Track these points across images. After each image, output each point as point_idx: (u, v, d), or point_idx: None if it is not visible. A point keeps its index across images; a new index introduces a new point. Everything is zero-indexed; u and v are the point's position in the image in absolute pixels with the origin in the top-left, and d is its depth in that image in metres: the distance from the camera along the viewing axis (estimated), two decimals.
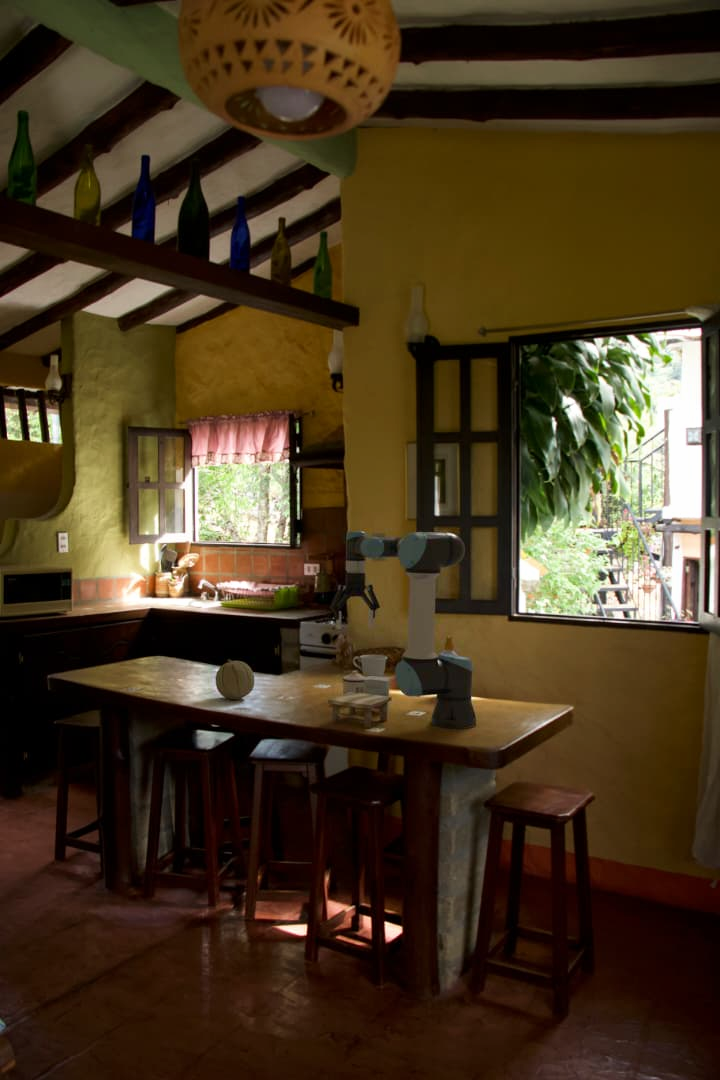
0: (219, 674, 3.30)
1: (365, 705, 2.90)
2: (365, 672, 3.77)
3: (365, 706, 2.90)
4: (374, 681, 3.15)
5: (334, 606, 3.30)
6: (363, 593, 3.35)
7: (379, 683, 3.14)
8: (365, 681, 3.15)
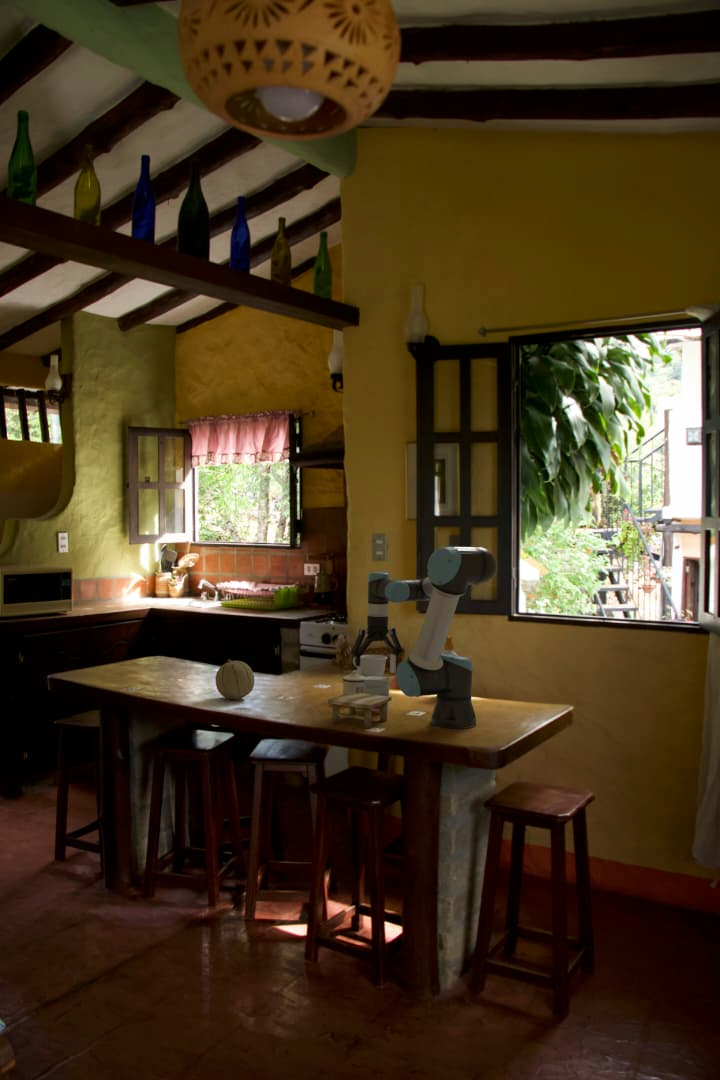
0: (219, 674, 3.30)
1: (365, 705, 2.90)
2: (365, 672, 3.77)
3: (365, 706, 2.90)
4: (374, 681, 3.15)
5: (355, 652, 3.13)
6: (386, 637, 3.18)
7: (379, 683, 3.14)
8: (365, 681, 3.15)
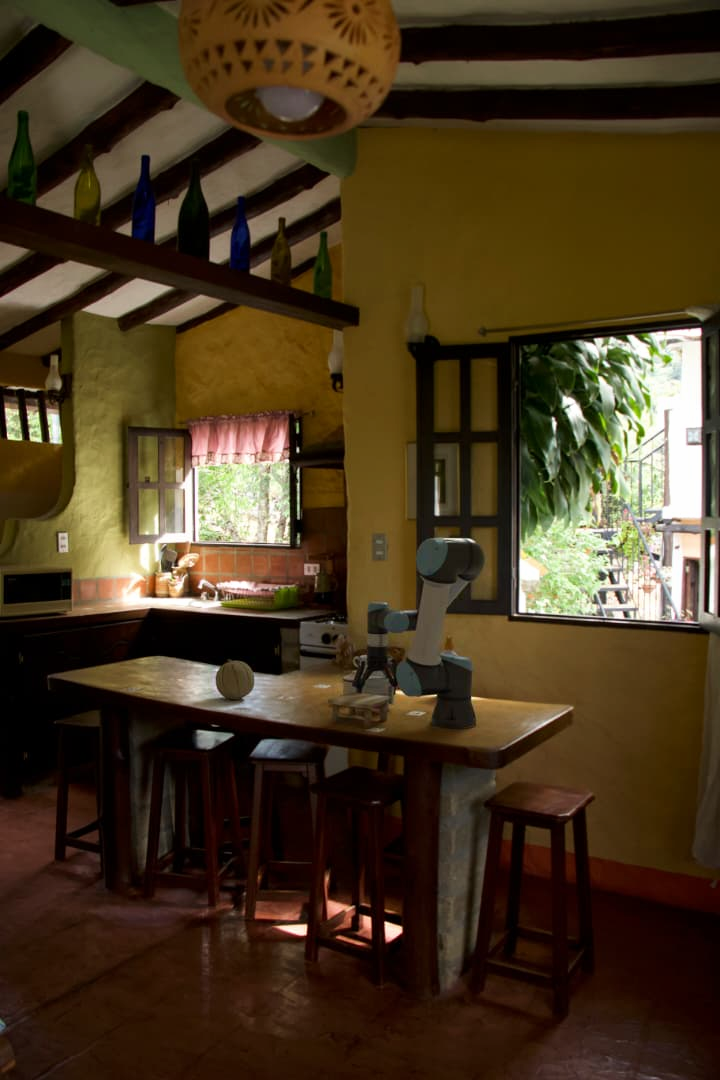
0: (219, 674, 3.30)
1: (365, 705, 2.90)
2: None
3: (365, 706, 2.90)
4: (374, 681, 3.15)
5: (357, 684, 3.14)
6: (385, 668, 3.18)
7: (379, 683, 3.14)
8: (365, 681, 3.15)
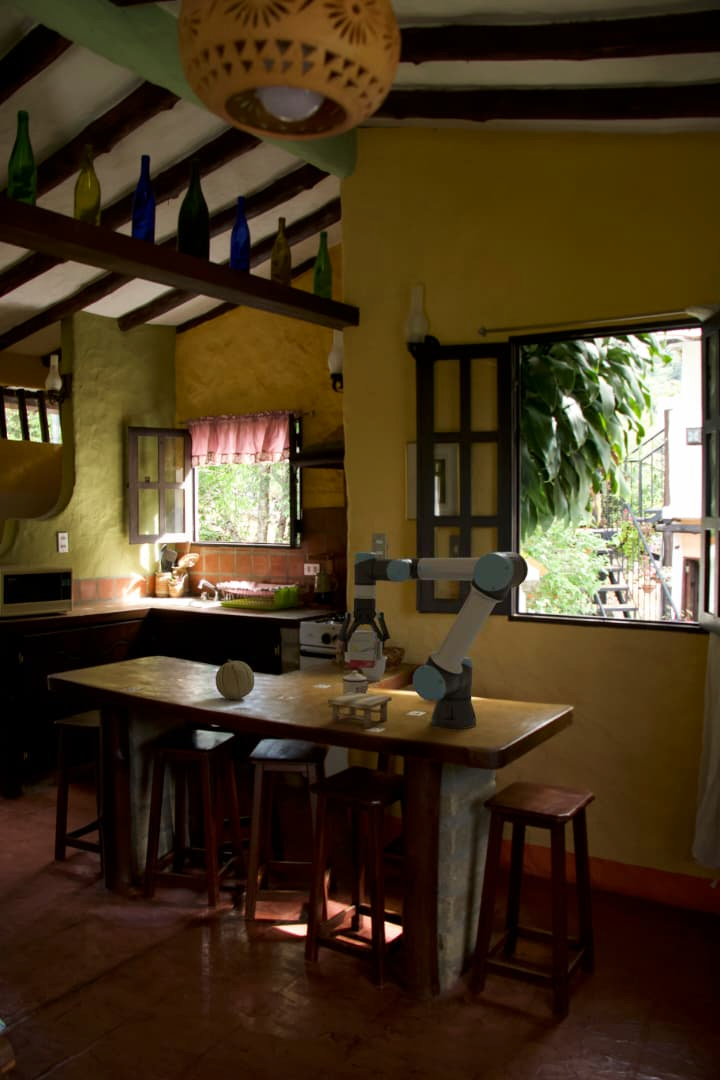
0: (219, 674, 3.30)
1: (365, 705, 2.90)
2: (365, 672, 3.77)
3: (365, 706, 2.90)
4: (360, 634, 2.99)
5: (342, 637, 2.98)
6: (372, 621, 3.02)
7: (366, 636, 2.98)
8: None
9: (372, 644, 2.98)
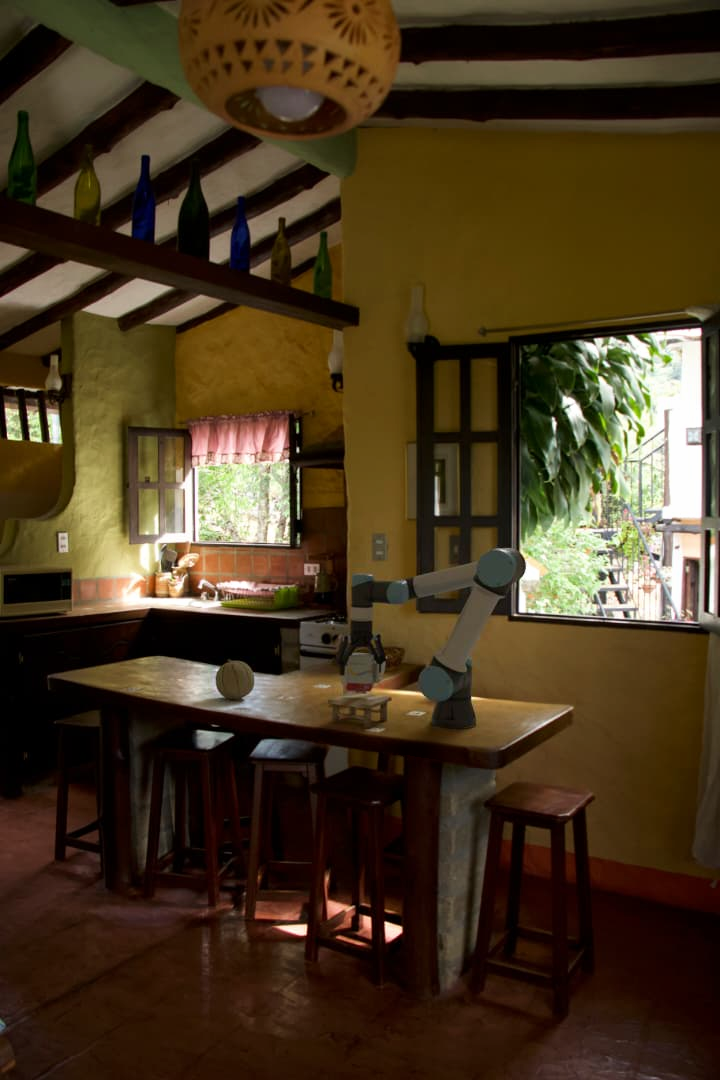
0: (219, 674, 3.30)
1: (365, 705, 2.90)
2: None
3: (365, 706, 2.90)
4: (358, 657, 2.96)
5: (339, 660, 2.94)
6: (369, 644, 2.99)
7: (363, 659, 2.95)
8: None
9: (369, 667, 2.95)
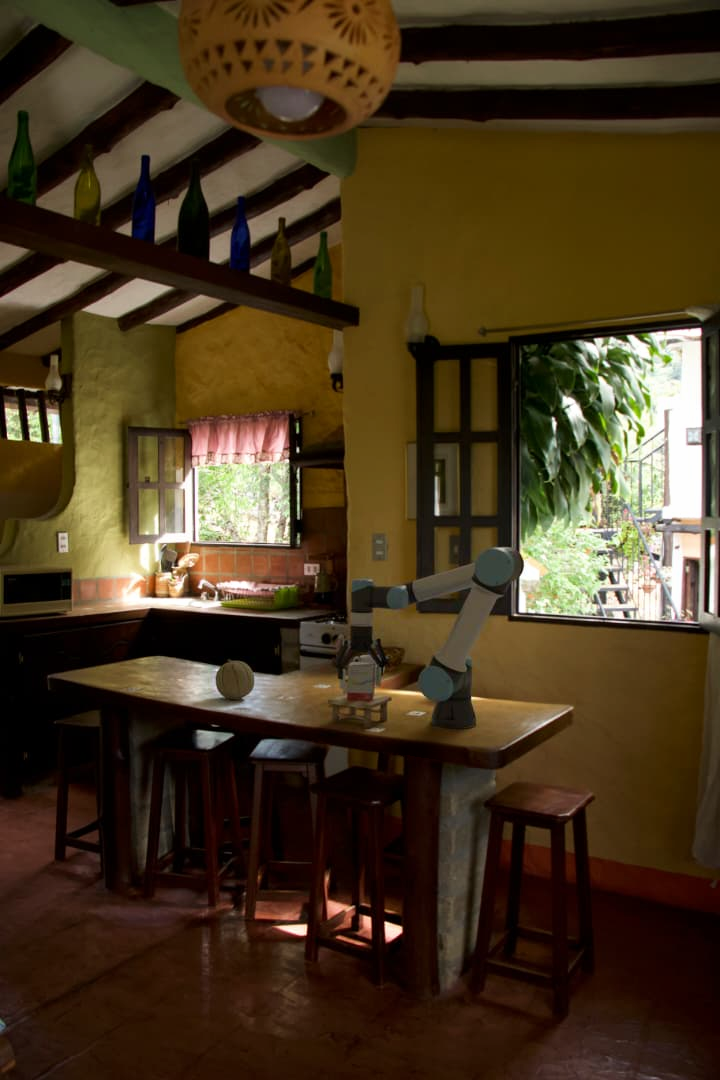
0: (219, 674, 3.30)
1: (365, 705, 2.90)
2: None
3: (365, 706, 2.90)
4: (359, 667, 2.96)
5: (337, 664, 2.94)
6: (370, 648, 2.99)
7: (364, 669, 2.95)
8: (349, 667, 2.96)
9: (370, 677, 2.95)
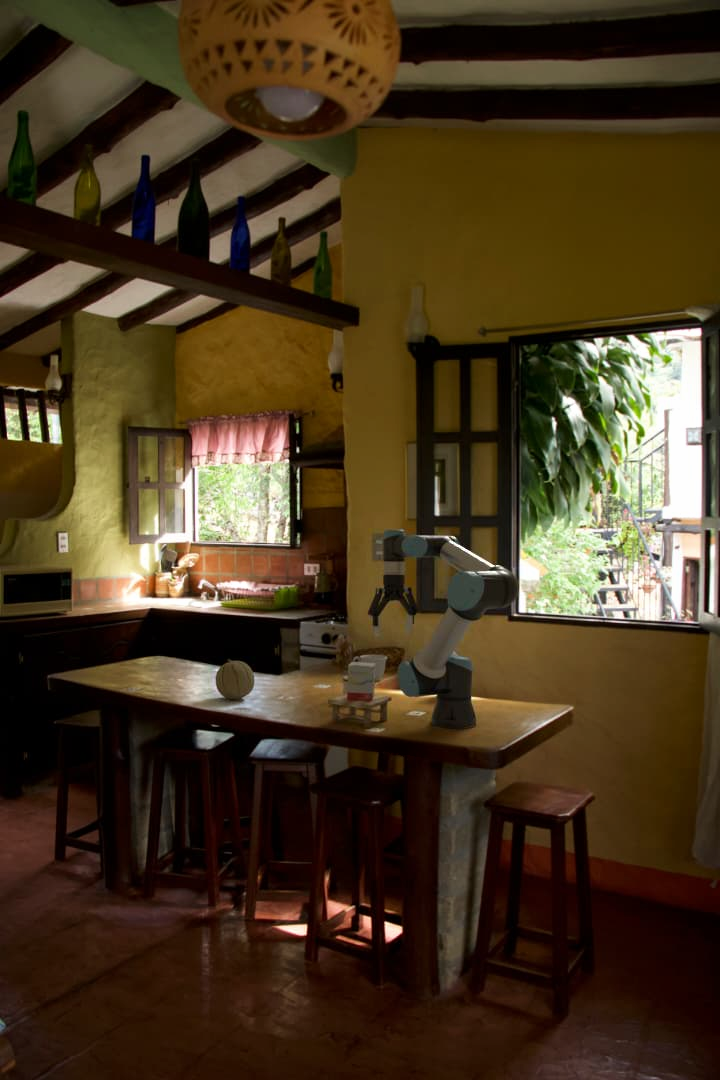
0: (219, 674, 3.30)
1: (365, 705, 2.90)
2: None
3: (365, 706, 2.90)
4: (359, 667, 2.96)
5: (373, 611, 3.02)
6: (402, 597, 3.08)
7: (364, 669, 2.95)
8: (349, 667, 2.96)
9: (370, 677, 2.95)
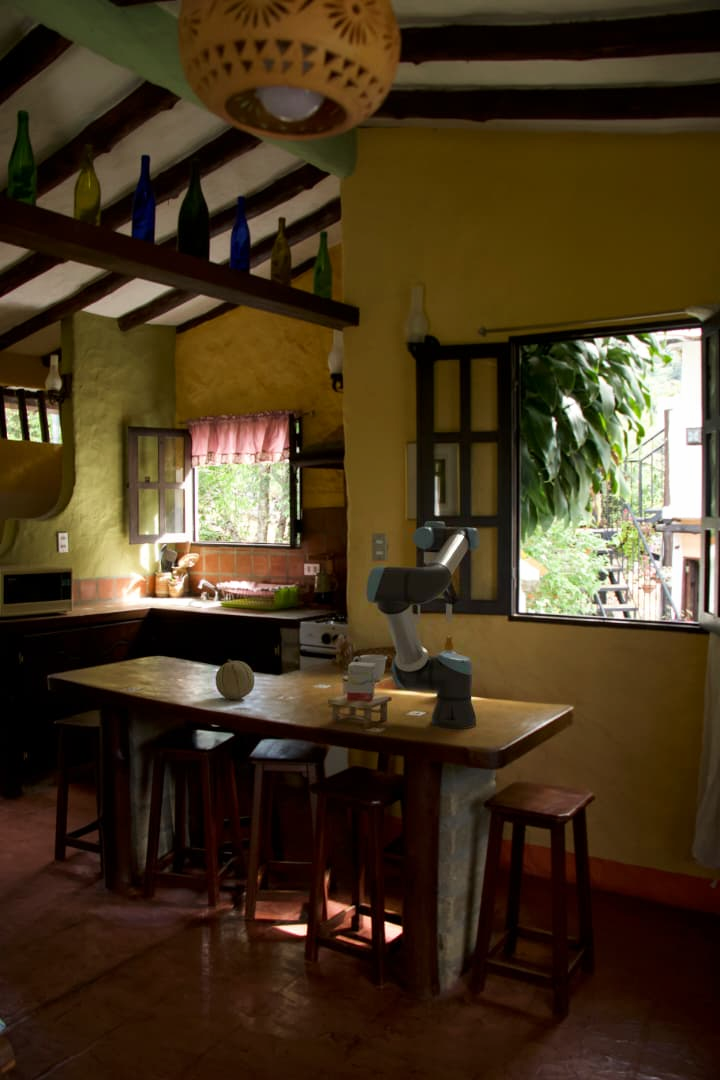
0: (219, 674, 3.30)
1: (365, 705, 2.90)
2: None
3: (365, 706, 2.90)
4: (359, 667, 2.96)
5: None
6: None
7: (364, 669, 2.95)
8: (349, 667, 2.96)
9: (370, 677, 2.95)
